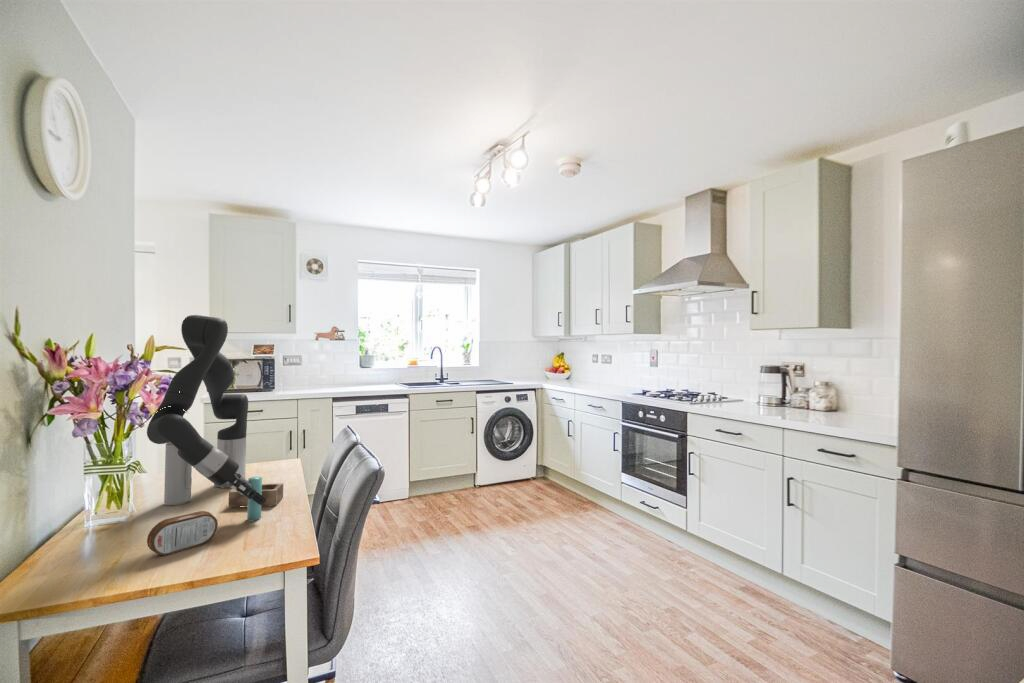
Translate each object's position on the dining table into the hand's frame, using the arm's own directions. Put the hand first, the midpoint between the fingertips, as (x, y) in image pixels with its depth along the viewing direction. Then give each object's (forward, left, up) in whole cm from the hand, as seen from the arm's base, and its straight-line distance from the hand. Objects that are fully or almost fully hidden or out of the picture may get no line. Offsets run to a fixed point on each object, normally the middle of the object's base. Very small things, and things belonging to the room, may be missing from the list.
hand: (261, 500), depth 143 cm
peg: (-2, -1, -5) cm, 5 cm away
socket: (-6, +14, -5) cm, 16 cm away
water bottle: (-30, +17, -5) cm, 35 cm away
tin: (-12, -21, -5) cm, 25 cm away
